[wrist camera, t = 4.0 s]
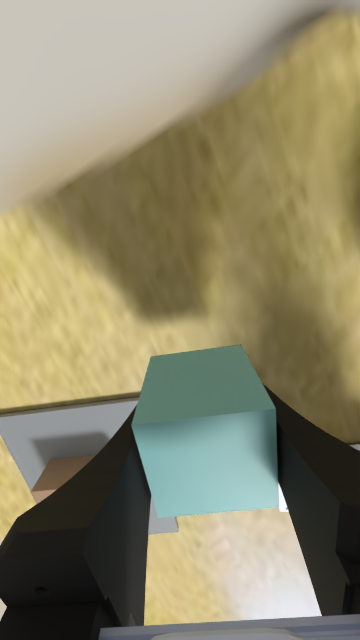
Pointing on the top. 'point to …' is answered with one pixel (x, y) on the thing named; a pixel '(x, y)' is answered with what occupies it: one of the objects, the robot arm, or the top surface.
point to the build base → (67, 445)
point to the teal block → (207, 434)
